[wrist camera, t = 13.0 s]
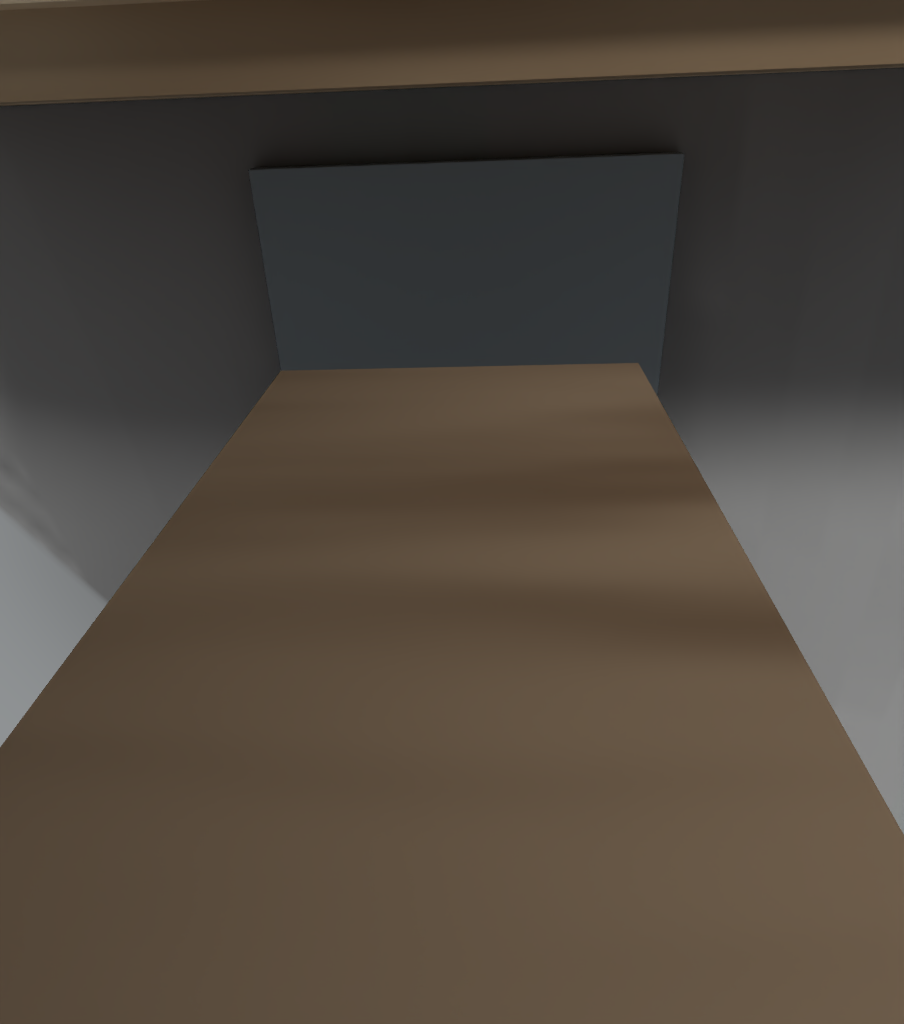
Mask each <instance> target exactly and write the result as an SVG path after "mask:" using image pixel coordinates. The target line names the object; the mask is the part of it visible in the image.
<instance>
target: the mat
mask: <svg viewBox="0 0 904 1024" xmlns="http://www.w3.org/2000/svg"><path fill="white" fill-rule="evenodd" d="M683 163H684V153H680V152H671V153H644V154H617V155H590V156H564V157H537V158H510V159H483V160H457V161H430V162H403V163H376V164H349V165H323V166H296V167H269V168H253V169H250V170H248V171H249V177H250V183H251V189H252V196H253V202H254V208H255V214H256V220H257V227H258V233H259V239H260V245H261V251H262V258H263V264H264V270H265V276H266V282H267V289H268V295H269V301H270V307H271V313H272V320H273V326H274V332H275V338H276V344H277V351H278V357H279V363H280V369H281V371H290V370H336V369H382V368H428V367H474V366H519V365H565V364H611V363H639V365H640V367H641V368H642V370H643V372H644V374H645V376H646V377H647V379H648V381H649V383H650V384H651V386H652V388H653V390H654V392H655V393H656V395H658V386H659V377H660V368H661V360H662V351H663V342H664V333H665V324H666V315H667V306H668V297H669V288H670V279H671V270H672V261H673V252H674V243H675V234H676V225H677V216H678V207H679V198H680V189H681V180H682V172H683Z"/></svg>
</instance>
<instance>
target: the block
mask: <svg viewBox="0 0 904 1024" xmlns="http://www.w3.org/2000/svg"><path fill="white" fill-rule="evenodd" d="M0 1024H904V835H903V833H902V831H901V829H900V828H899V826H898V824H897V822H896V820H895V819H894V817H893V815H892V813H891V812H890V810H889V808H888V806H887V804H886V803H885V801H884V799H883V797H882V796H881V794H880V792H879V790H878V788H877V787H876V785H875V783H874V781H873V780H872V778H871V776H870V774H869V772H868V771H867V769H866V767H865V765H864V764H863V762H862V760H861V758H860V756H859V755H858V753H857V751H856V749H855V747H854V746H853V744H852V742H851V740H850V739H849V737H848V735H847V733H846V731H845V730H844V728H843V726H842V724H841V723H840V721H839V719H838V717H837V715H836V714H835V712H834V710H833V708H832V707H831V705H830V703H829V701H828V699H827V698H826V696H825V694H824V692H823V691H822V689H821V687H820V685H819V683H818V682H817V680H816V678H815V676H814V675H813V673H812V671H811V669H810V667H809V666H808V664H807V662H806V660H805V659H804V657H803V655H802V653H801V651H800V650H799V648H798V646H797V644H796V643H795V641H794V639H793V637H792V635H791V634H790V632H789V630H788V628H787V626H786V625H785V623H784V621H783V619H782V618H781V616H780V614H779V612H778V610H777V609H776V607H775V605H774V603H773V602H772V600H771V598H770V596H769V594H768V593H767V591H766V589H765V587H764V586H763V584H762V582H761V580H760V578H759V577H758V575H757V573H756V571H755V570H754V568H753V566H752V564H751V562H750V561H749V559H748V557H747V555H746V554H745V552H744V550H743V548H742V546H741V545H740V543H739V541H738V539H737V538H736V536H735V534H734V532H733V530H732V529H731V527H730V525H729V523H728V522H727V520H726V518H725V516H724V514H723V513H722V511H721V509H720V507H719V505H718V504H717V502H716V500H715V498H714V497H713V495H712V493H711V491H710V489H709V488H708V486H707V484H706V482H705V481H704V479H703V477H702V475H701V473H700V472H699V470H698V468H697V466H696V465H695V463H694V461H693V459H692V457H691V456H690V454H689V452H688V450H687V449H686V447H685V445H684V443H683V441H682V440H681V438H680V436H679V434H678V433H677V431H676V429H675V427H674V425H673V424H672V422H671V420H670V418H669V417H668V415H667V413H666V411H665V409H664V408H663V406H662V404H661V402H660V400H659V399H658V397H657V395H656V393H655V392H654V390H653V388H652V386H651V384H650V383H649V381H648V379H647V377H646V376H645V374H644V372H643V370H642V368H641V367H640V365H639V363H611V364H565V365H519V366H474V367H428V368H382V369H336V370H290V371H280V372H279V374H278V375H277V377H276V378H275V379H274V381H273V382H272V383H271V385H270V386H269V387H268V389H267V390H266V391H265V393H264V394H263V395H262V397H261V398H260V399H259V401H258V402H257V403H256V405H255V406H254V407H253V409H252V410H251V411H250V413H249V414H248V415H247V417H246V418H245V420H244V421H243V422H242V424H241V425H240V426H239V428H238V429H237V430H236V432H235V433H234V434H233V436H232V437H231V438H230V440H229V441H228V442H227V444H226V445H225V446H224V448H223V449H222V450H221V452H220V453H219V454H218V456H217V457H216V458H215V460H214V461H213V462H212V464H211V465H210V467H209V468H208V469H207V471H206V472H205V473H204V475H203V476H202V477H201V479H200V480H199V481H198V483H197V484H196V485H195V487H194V488H193V489H192V491H191V492H190V493H189V495H188V496H187V497H186V499H185V500H184V501H183V503H182V504H181V505H180V507H179V508H178V510H177V511H176V512H175V514H174V515H173V516H172V518H171V519H170V520H169V522H168V523H167V524H166V526H165V527H164V528H163V530H162V531H161V532H160V534H159V535H158V536H157V538H156V539H155V540H154V542H153V543H152V544H151V546H150V547H149V548H148V550H147V551H146V552H145V554H144V555H143V557H142V558H141V559H140V561H139V562H138V563H137V565H136V566H135V567H134V569H133V570H132V571H131V573H130V574H129V575H128V577H127V578H126V579H125V581H124V582H123V583H122V585H121V586H120V587H119V589H118V590H117V591H116V593H115V594H114V595H113V597H112V598H111V600H110V601H109V602H108V604H107V605H106V606H105V608H104V609H103V610H102V612H101V613H100V614H99V616H98V617H97V618H96V620H95V621H94V622H93V624H92V625H91V627H90V628H89V629H88V630H87V632H86V633H85V635H84V636H83V637H82V638H81V640H80V641H79V643H78V644H77V645H76V647H75V648H74V649H73V651H72V652H71V653H70V655H69V656H68V657H67V659H66V660H65V661H64V663H63V664H62V666H61V667H60V668H59V669H58V671H57V672H56V674H55V675H54V676H53V677H52V679H51V680H50V681H49V683H48V684H47V685H46V687H45V688H44V690H43V691H42V692H41V694H40V695H39V696H38V698H37V699H36V700H35V702H34V703H33V704H32V706H31V707H30V708H29V710H28V711H27V712H26V714H25V715H24V717H23V718H22V719H21V720H20V722H19V723H18V724H17V726H16V727H15V728H14V730H13V731H12V733H11V734H10V735H9V737H8V738H7V739H6V741H5V742H4V743H3V745H2V746H1V747H0Z"/></svg>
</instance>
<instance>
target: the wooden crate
mask: <svg viewBox="0 0 904 1024" xmlns="http://www.w3.org/2000/svg"><path fill="white" fill-rule="evenodd" d="M59 7H60V8H59ZM900 67H904V0H0V106H14V105H37V104H60V103H84V102H107V101H130V100H154V99H177V98H200V97H224V96H247V95H270V94H294V93H317V92H340V91H364V90H387V89H410V88H434V87H457V86H480V85H504V84H527V83H550V82H574V81H597V80H620V79H644V78H667V77H690V76H714V75H737V74H760V73H784V72H807V71H830V70H854V69H877V68H900Z"/></svg>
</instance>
